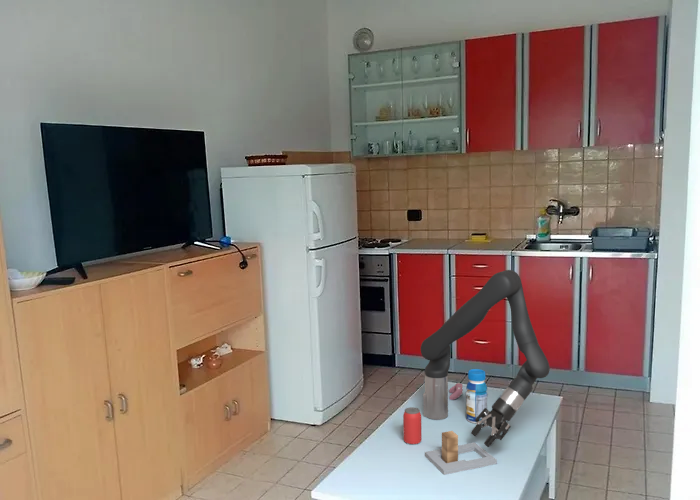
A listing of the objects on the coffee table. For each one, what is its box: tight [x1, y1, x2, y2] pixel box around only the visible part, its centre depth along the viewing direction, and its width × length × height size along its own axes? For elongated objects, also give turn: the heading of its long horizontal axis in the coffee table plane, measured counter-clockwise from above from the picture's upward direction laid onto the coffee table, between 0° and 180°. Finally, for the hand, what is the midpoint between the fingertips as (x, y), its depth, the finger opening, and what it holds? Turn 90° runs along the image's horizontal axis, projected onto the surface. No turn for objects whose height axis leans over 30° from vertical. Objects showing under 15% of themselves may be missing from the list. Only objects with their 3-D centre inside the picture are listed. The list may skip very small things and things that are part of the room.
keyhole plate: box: [424, 442, 498, 476], centre depth 199 cm, size 20×14×2 cm
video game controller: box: [448, 382, 464, 401], centre depth 256 cm, size 10×5×7 cm, turn 171°
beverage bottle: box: [465, 368, 489, 424], centre depth 230 cm, size 8×8×20 cm
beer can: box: [402, 406, 422, 445], centre depth 213 cm, size 7×7×12 cm
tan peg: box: [441, 430, 459, 463], centre depth 197 cm, size 4×4×10 cm
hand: (479, 440), depth 201 cm, fingers open, 8 cm apart
